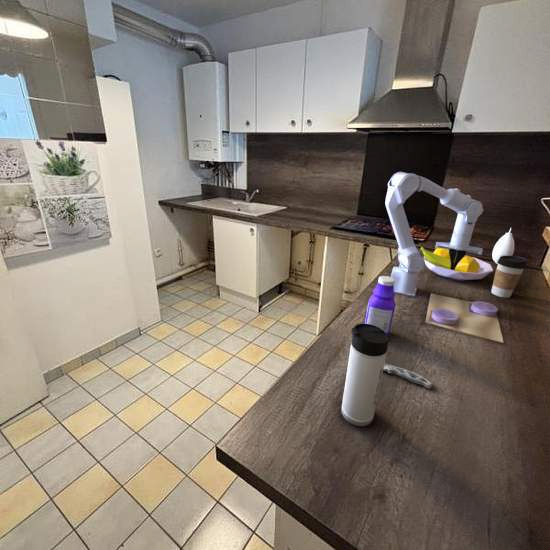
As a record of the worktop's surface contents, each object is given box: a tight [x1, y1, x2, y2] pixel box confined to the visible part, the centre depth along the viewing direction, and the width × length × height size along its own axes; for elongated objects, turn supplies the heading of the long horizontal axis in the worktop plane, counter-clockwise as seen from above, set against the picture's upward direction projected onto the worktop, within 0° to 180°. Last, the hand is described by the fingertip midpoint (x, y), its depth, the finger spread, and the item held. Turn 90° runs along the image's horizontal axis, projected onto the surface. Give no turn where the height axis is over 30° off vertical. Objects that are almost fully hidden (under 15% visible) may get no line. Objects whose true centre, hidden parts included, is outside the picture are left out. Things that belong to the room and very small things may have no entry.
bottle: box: [364, 275, 397, 336], centre depth 82 cm, size 7×6×17 cm
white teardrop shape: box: [491, 227, 515, 265], centre depth 138 cm, size 8×8×18 cm
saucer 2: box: [471, 300, 499, 316], centre depth 97 cm, size 7×7×2 cm
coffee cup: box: [490, 255, 528, 299], centre depth 108 cm, size 8×8×15 cm
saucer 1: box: [431, 308, 458, 325], centre depth 92 cm, size 7×7×2 cm
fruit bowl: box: [420, 247, 494, 281], centre depth 127 cm, size 28×27×11 cm
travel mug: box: [340, 323, 390, 427], centre depth 55 cm, size 6×7×20 cm
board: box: [424, 292, 505, 344], centre depth 96 cm, size 20×24×1 cm
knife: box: [383, 362, 433, 389], centre depth 70 cm, size 2×18×3 cm
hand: (452, 269), depth 109 cm, fingers closed
